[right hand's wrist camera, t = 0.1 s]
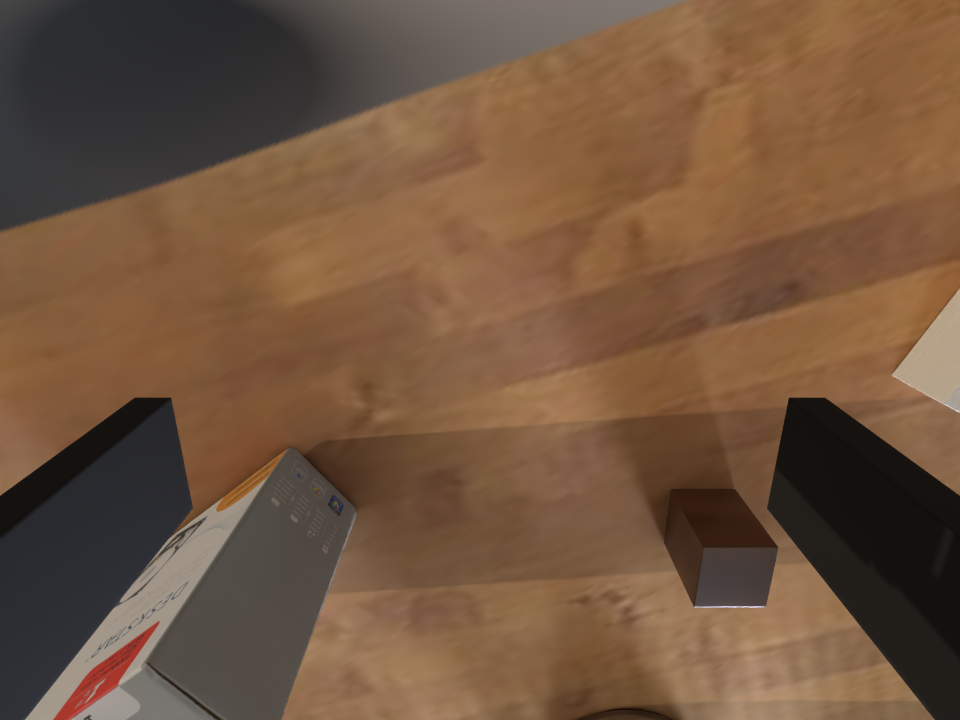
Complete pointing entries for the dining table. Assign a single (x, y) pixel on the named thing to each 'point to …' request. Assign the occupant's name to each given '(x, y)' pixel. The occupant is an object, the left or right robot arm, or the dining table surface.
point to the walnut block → (719, 549)
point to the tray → (937, 358)
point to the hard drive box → (217, 609)
